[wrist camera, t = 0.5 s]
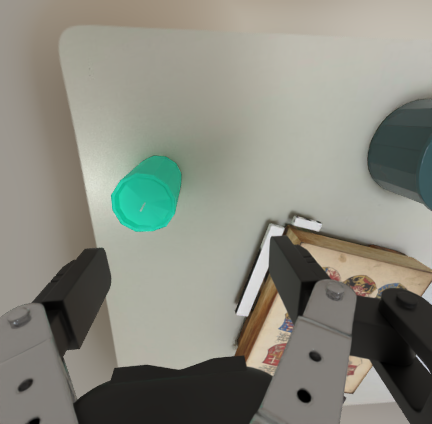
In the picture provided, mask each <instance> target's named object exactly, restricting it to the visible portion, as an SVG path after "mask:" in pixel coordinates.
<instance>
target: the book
mask: <svg viewBox="0 0 432 424" xmlns="http://www.w3.org/2000/svg"><path fill="white" fill-rule="evenodd" d="M291 223H292V224H293V225H294V226H292V225H287V227H286V228H284V227H283V226H279V225H275V224H271V223H270V224H269V226H268V229H267V231H266V234H265V236H264V239H263V242H262V244H261V247H260V249H259V252H258V254H257V257H256V259H255V262H254V264H253V267H252V269H251V272H250V275H249V277H248V280H247V282H246V285H245V287H244V290H243V292H242V295H241V297H240V300H239V302H238V305H237V308H236V310H235V313H236V315H241V316H247V318H246V320H245V322H244V325H243V328H242V331H241V333H240V334H241V335H240V337H239V339H238V340H237V341H238V349H237V351H236V353H235V356H243V355H244V356H245V361H246V365H247V366H248V367H253V368H256V369H260V370H262V371H264V372H267V373H269V374H270V375H272V376H273V375H274V373H275V370H276V368H277V366H278V363H279V361H280V358H281V356H282V354H283V351H284V349H285V346H286V344H287V342H288V339H289V337H290V335H291V332H292V330H293V327H294V325H293V323H292V321H291V319H290V317H289V315H288V312H287V310H286V308H285V306H284V304H283V302H282V300H281V297H280V295H279V293H278V291H277V289H276V287H275V284H274V282H273V280H272V278H271V276H270V272H269V246H270V238H271V236H283V235H287V236H288V238H289V239H290V240H291V241H292V243H293V244H294V245H297V244H299V245H300V246H302V247H304V248H305V249H307V250H308V251H309V253H310V254H311V255H312V257H314V259H315V260H316V261H317V263H319V265H320V266H321V267H322V268H323V269H324V271H325V272H326V273H327V274H328V276H329V277H330V278H331V279H332V280H337V281H340V282H343V283H345V284H347V285H348V286H350V287H351V288H352V289H353V290H354V291H355V293H356V295H359V296H365V297H372V298H379V299H380V298H381V294H382V291H383V290H385V289H387V288H400V289H405V290H408V291H411V292H413V293H415V294H417V295H419V296H422V295H423V293H424V292H425V291H426V289H427V288H428V286H429V285H430V283H431V282H432V270H431V269H430V268H428V267H427V266H425V265H424V264H422V263H420V262H419V261H417V260H416V259H414V258H412V257H408V256H407V255H405V254H403V253H401V252H398V251H394V250H391V249H387V248H383V247H380V246H376V245H370V246H369V247H367V246H363V245H358V244H354V243H350V242H346V241H342V240H338V239H334V238H330V237H326V236H321V235H317V234H313V233H312V232H311V231H310V230H309V229H311V230H315V231H319V230H320V228H321V226H322V223H321V222H319V221H315V220H311V219H307V218H303V217H299V216H295V215H294V218H293V220H292V222H291ZM283 231H284V232H283ZM259 290H260V293H261V295H260V297H259V299H258V302H257V304H256V306H255V309H254V310H251V308H252V305H253V303H254V300H255V298H256V296H257V293H258V291H259ZM250 310H251V312H250ZM249 312H250V313H249ZM372 366H373V365H372V363H371V362H370V360H369V359H364V358H359V357H354V356H349V363H348V369H347V376H346V383H345V390H344V393H349V394H353V393H354V392H355V390H356V389H357V387H358V386H359V385H360V383H361V382H362V380H363V379H364V377H365V376H366V375H367V373H368V372H369V370H370V369H371V367H372Z"/></svg>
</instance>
